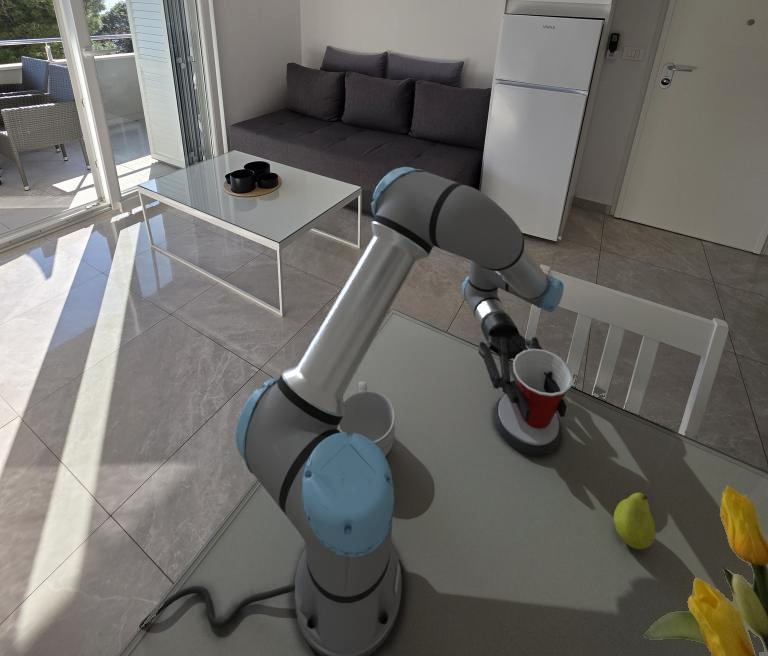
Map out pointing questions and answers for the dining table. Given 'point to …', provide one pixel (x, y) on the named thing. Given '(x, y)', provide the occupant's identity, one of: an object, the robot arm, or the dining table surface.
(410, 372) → the dining table surface
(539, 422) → the plastic cup
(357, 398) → the teacup
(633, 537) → the fruit
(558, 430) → the scale
